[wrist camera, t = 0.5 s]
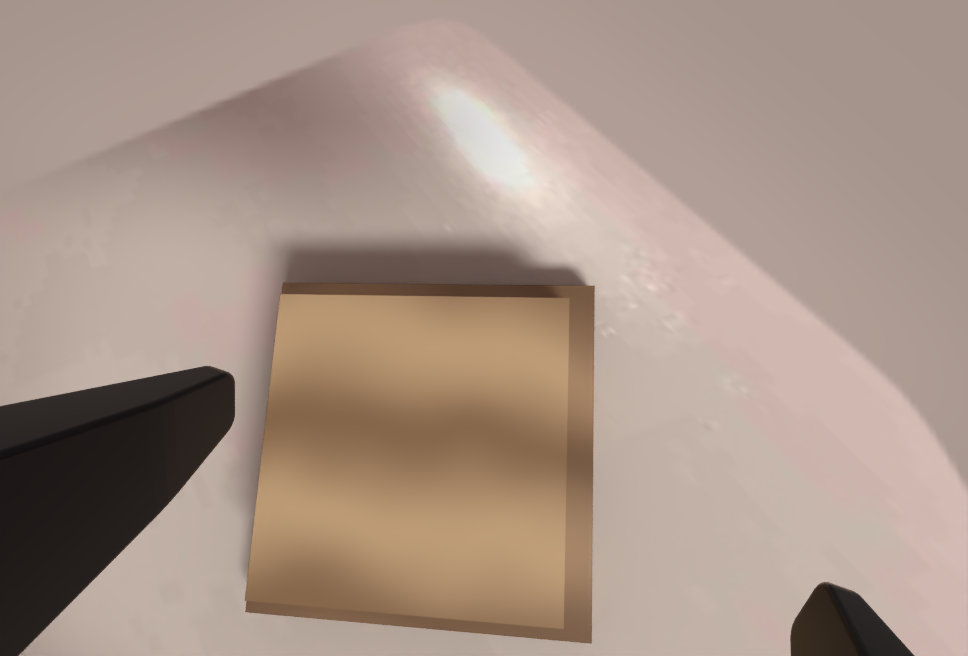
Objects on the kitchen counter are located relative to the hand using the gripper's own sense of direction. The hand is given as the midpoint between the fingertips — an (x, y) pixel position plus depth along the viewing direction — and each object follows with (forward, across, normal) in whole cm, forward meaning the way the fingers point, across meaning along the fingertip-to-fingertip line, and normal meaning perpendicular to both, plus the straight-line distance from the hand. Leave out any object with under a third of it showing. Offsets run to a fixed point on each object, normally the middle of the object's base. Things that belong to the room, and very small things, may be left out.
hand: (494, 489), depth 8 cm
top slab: (+10, +4, +8) cm, 14 cm away
